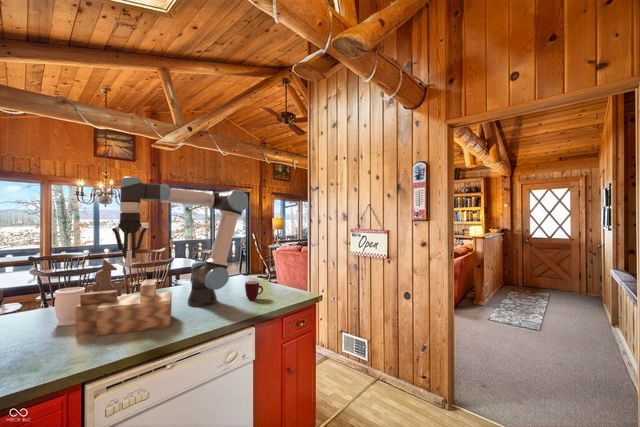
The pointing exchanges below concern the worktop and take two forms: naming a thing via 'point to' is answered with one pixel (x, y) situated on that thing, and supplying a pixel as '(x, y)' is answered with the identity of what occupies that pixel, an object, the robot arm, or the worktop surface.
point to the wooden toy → (106, 279)
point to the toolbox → (120, 319)
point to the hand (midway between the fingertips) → (129, 265)
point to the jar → (67, 305)
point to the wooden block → (98, 297)
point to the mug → (252, 289)
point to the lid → (139, 298)
